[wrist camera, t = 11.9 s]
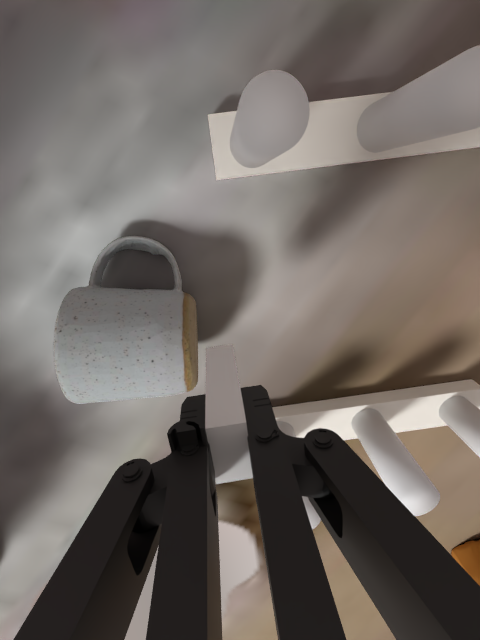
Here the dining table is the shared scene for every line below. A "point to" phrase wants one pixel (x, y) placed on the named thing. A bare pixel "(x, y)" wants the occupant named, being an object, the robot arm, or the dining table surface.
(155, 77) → the dining table surface
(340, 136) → the rack
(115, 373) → the ceramic mug
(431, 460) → the dining table surface
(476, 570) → the coffee package
